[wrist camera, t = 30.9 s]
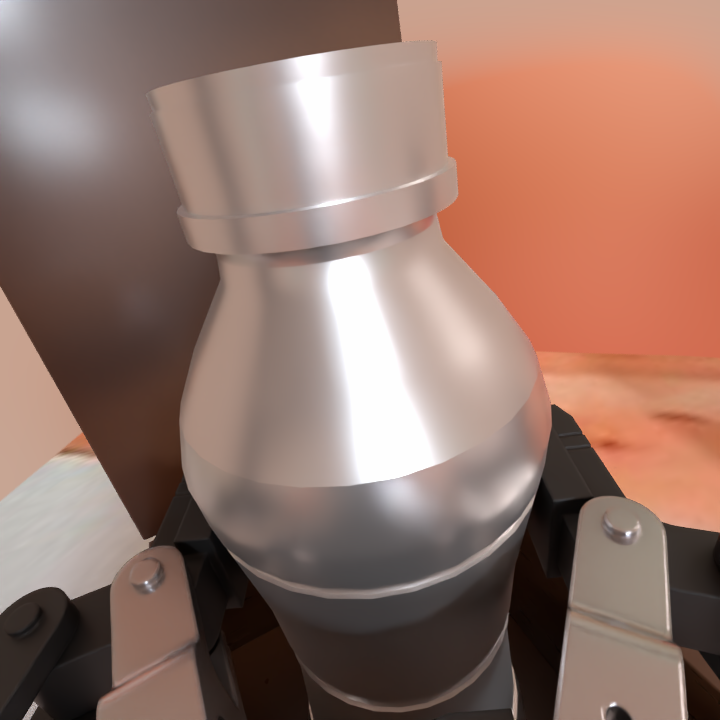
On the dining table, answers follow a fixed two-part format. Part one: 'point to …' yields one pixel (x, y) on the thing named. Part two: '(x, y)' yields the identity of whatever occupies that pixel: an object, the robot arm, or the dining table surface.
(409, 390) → the silver metal bottle
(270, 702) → the chest
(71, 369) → the lid
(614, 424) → the dining table surface
